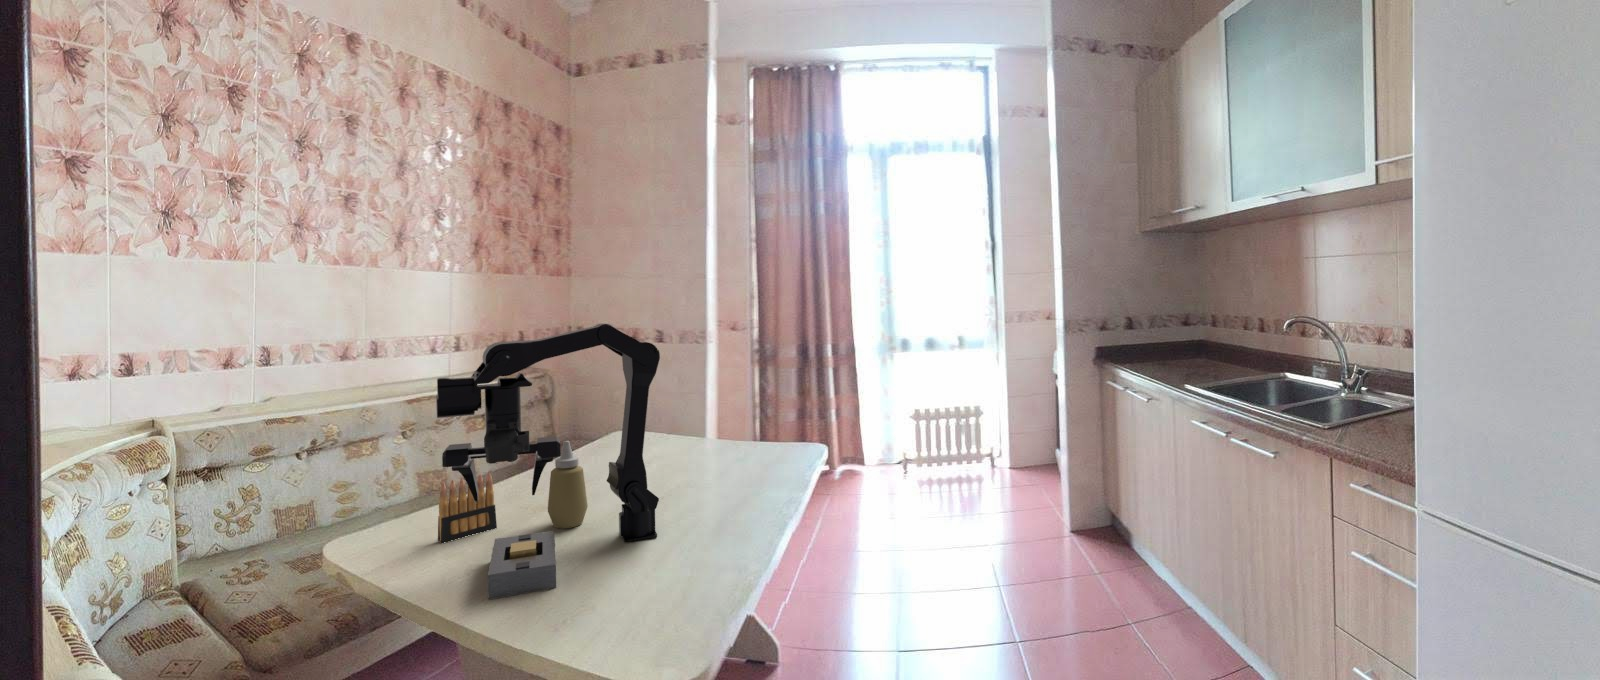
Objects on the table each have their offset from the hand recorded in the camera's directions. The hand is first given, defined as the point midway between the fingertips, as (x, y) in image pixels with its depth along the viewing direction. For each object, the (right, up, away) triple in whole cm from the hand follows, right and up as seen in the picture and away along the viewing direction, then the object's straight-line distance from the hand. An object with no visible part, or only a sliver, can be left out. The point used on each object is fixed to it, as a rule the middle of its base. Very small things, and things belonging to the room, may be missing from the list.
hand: (505, 497), depth 107 cm
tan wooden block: (+5, -12, -4) cm, 14 cm away
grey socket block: (+5, -12, -4) cm, 14 cm away
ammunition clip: (-15, -12, +14) cm, 23 cm away
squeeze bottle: (+4, -11, +20) cm, 23 cm away
